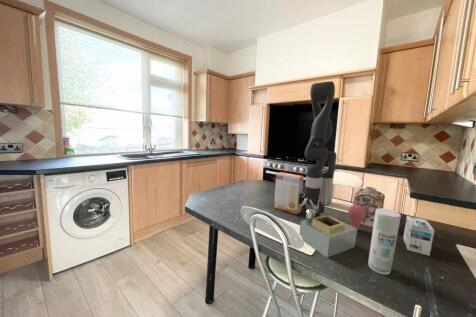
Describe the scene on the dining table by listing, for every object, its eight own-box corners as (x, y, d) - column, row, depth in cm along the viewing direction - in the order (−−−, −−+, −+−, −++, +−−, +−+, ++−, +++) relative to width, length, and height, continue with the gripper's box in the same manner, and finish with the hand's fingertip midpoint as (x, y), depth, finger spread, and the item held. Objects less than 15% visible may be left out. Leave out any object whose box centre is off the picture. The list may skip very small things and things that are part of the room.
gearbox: (325, 230, 90) (327, 211, 89) (354, 247, 78) (357, 225, 76) (299, 238, 83) (301, 217, 81) (327, 257, 71) (329, 233, 69)
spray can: (369, 271, 65) (378, 214, 62) (365, 259, 70) (373, 206, 67) (393, 277, 62) (404, 218, 59) (387, 264, 68) (397, 210, 65)
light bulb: (361, 227, 94) (364, 203, 92) (365, 234, 87) (369, 209, 86) (344, 224, 96) (347, 201, 95) (347, 231, 90) (350, 206, 88)
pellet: (309, 217, 103) (310, 208, 103) (315, 220, 100) (316, 211, 99) (304, 218, 101) (304, 209, 101) (310, 221, 98) (310, 212, 97)
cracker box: (300, 211, 110) (304, 175, 106) (296, 215, 105) (299, 177, 102) (278, 205, 118) (280, 171, 115) (273, 207, 114) (275, 173, 111)
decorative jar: (381, 221, 101) (386, 188, 98) (377, 229, 93) (383, 193, 90) (355, 214, 109) (359, 183, 106) (349, 221, 101) (354, 187, 98)
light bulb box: (430, 256, 73) (435, 230, 72) (407, 250, 77) (411, 224, 75) (422, 243, 82) (427, 219, 81) (402, 238, 86) (406, 215, 84)
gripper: (330, 188, 93) (326, 220, 96) (307, 181, 106) (304, 209, 108) (319, 190, 90) (315, 223, 92) (297, 182, 102) (294, 211, 105)
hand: (309, 216), depth 100 cm, fingers open, 8 cm apart
